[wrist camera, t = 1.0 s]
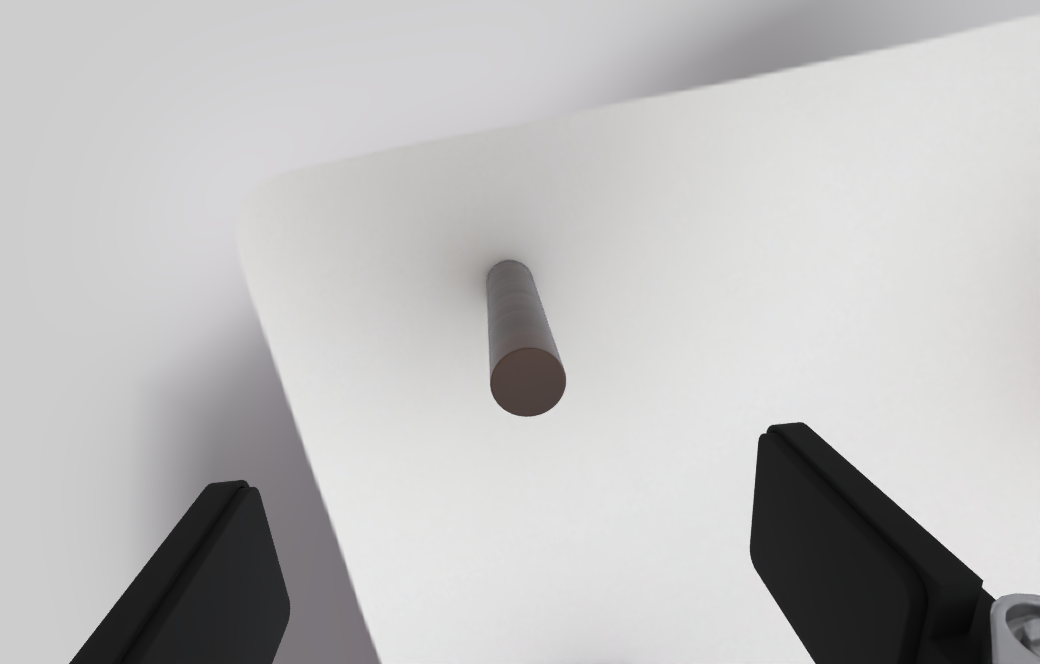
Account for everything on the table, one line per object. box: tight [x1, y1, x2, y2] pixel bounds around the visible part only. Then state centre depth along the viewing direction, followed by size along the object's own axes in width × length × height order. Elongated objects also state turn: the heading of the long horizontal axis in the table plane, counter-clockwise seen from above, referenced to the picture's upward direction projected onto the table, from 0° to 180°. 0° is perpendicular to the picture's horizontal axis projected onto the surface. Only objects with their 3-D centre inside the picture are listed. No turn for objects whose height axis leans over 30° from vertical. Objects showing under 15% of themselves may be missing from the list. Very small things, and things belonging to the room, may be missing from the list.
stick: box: [487, 260, 566, 417], centre depth 23 cm, size 2×2×12 cm
